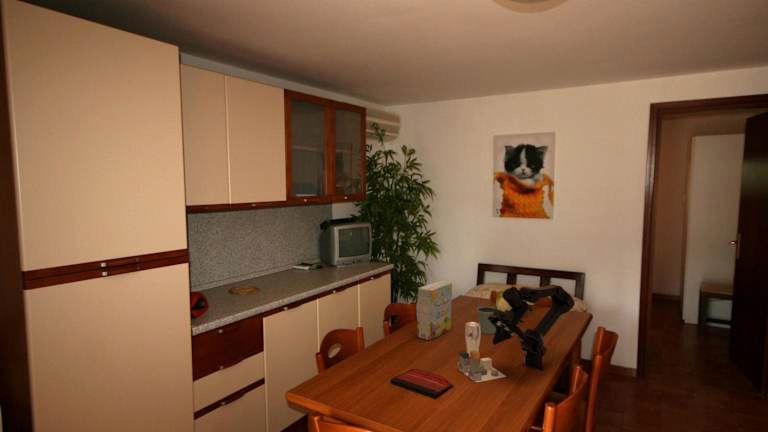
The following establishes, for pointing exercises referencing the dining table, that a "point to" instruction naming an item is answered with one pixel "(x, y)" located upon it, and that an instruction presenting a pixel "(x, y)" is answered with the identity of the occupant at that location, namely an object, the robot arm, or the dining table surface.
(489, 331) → the grey pot
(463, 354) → the black lever
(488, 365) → the slider
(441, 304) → the snack box
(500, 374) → the panel
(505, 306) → the lettuce
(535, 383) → the dining table surface
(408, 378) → the binder
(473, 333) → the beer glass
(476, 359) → the orange lever
